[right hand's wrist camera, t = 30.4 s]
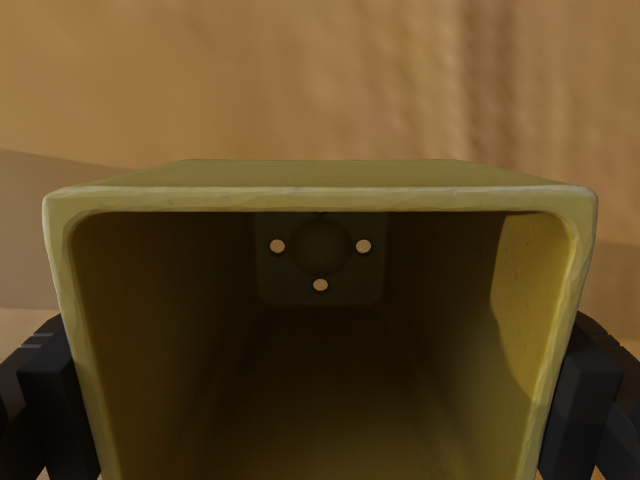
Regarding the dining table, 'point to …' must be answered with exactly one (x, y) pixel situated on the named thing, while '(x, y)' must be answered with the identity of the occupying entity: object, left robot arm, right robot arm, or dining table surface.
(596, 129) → the dining table surface
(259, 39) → the dining table surface
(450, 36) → the dining table surface
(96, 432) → the yellow square planter
